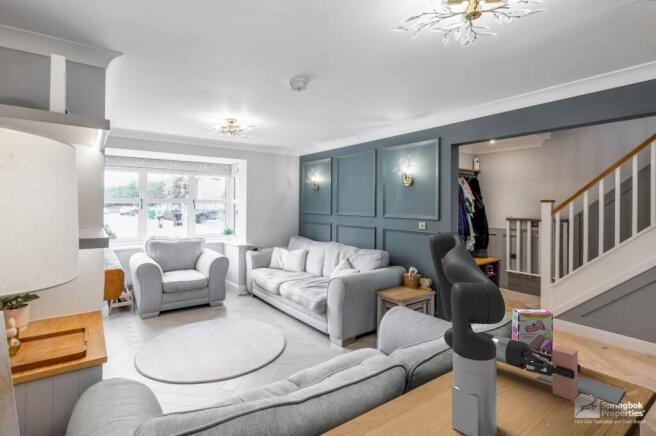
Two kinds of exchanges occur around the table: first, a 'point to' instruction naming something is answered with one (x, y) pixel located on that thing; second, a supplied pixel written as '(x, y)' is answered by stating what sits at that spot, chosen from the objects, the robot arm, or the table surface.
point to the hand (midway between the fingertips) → (577, 371)
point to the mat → (594, 389)
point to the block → (560, 383)
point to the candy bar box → (533, 328)
